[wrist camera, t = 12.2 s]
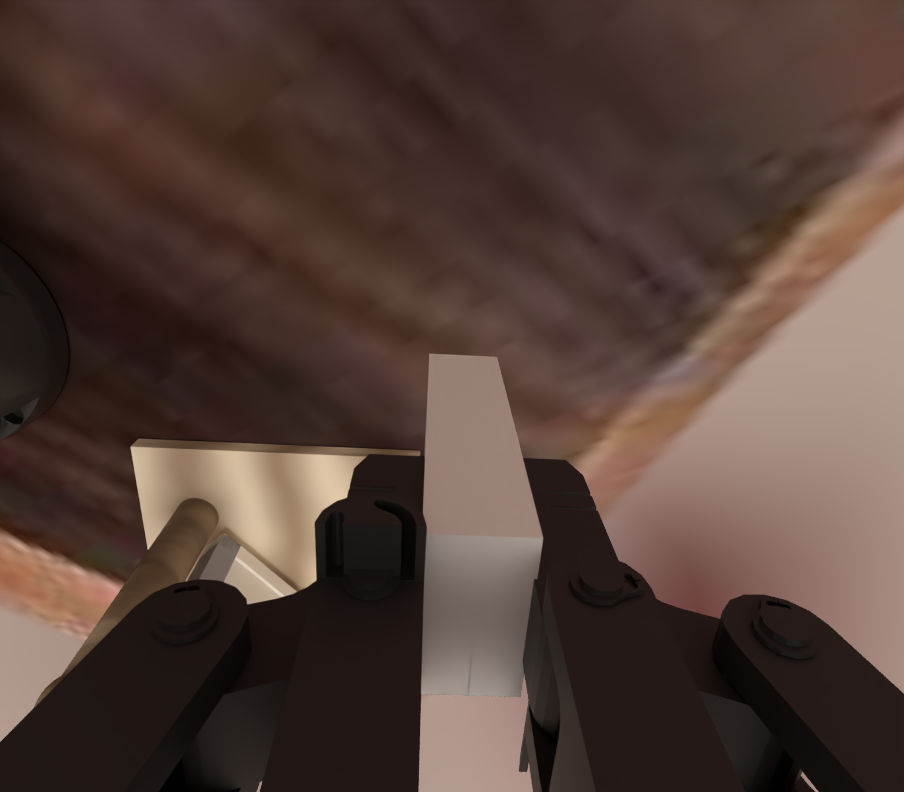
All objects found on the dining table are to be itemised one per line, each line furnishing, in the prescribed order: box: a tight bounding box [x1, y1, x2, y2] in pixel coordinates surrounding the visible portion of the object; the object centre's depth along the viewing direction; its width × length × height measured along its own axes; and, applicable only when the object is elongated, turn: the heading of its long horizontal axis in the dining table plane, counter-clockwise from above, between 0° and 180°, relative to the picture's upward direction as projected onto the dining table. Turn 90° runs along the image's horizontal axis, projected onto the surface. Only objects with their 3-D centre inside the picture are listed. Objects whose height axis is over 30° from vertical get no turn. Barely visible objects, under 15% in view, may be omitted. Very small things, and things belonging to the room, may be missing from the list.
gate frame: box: [35, 439, 420, 706], centre depth 39 cm, size 20×19×19 cm
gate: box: [187, 532, 297, 604], centre depth 42 cm, size 17×2×12 cm, turn 40°
